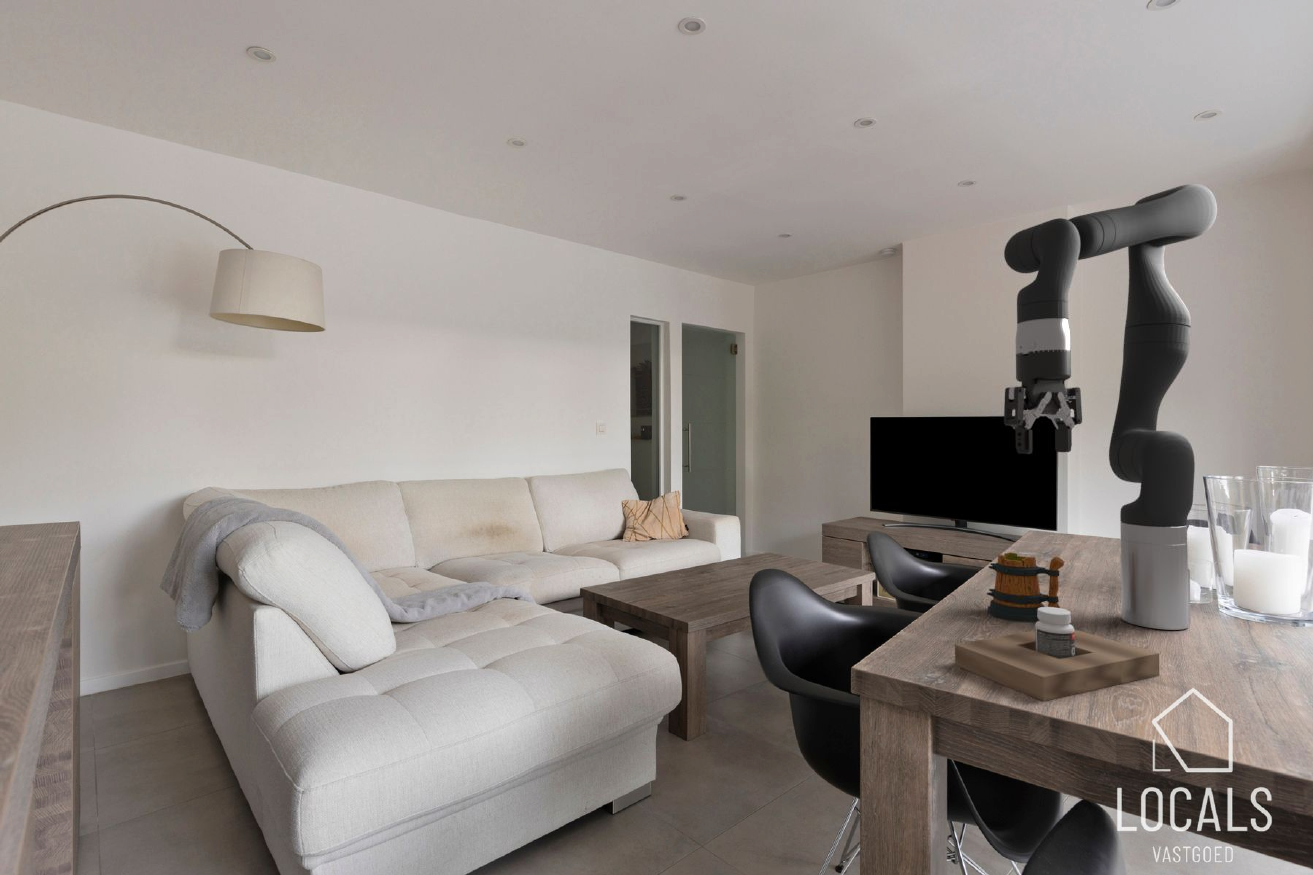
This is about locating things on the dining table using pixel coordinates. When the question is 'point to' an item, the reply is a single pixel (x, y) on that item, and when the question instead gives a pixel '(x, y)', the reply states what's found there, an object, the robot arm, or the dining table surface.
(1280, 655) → the dining table surface
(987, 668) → the board
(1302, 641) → the dining table surface
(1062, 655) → the pill bottle
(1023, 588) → the mug
